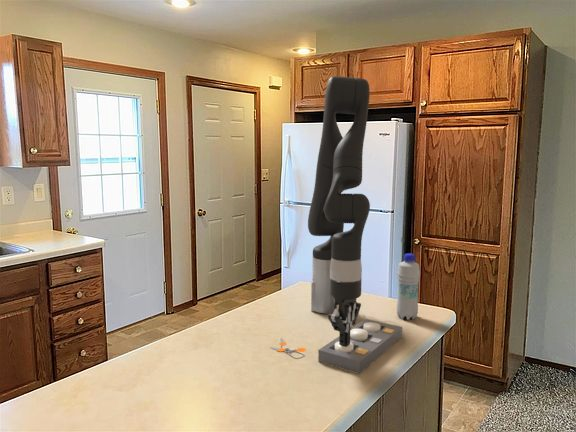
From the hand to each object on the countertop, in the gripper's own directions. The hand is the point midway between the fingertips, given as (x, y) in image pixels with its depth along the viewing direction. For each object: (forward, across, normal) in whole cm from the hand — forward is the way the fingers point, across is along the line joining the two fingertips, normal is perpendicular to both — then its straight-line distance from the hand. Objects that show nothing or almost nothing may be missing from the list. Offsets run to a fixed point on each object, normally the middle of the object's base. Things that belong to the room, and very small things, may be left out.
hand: (344, 345), depth 117 cm
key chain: (+4, +3, -15) cm, 16 cm away
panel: (+4, -8, +1) cm, 9 cm away
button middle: (+1, -8, 0) cm, 8 cm away
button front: (+2, 0, 0) cm, 2 cm away
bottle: (+4, -37, +2) cm, 37 cm away
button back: (+2, -16, 0) cm, 16 cm away
